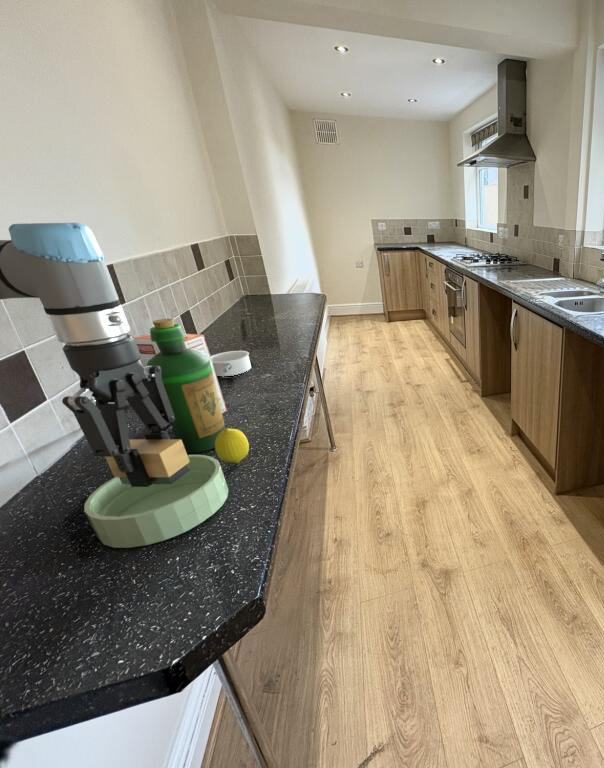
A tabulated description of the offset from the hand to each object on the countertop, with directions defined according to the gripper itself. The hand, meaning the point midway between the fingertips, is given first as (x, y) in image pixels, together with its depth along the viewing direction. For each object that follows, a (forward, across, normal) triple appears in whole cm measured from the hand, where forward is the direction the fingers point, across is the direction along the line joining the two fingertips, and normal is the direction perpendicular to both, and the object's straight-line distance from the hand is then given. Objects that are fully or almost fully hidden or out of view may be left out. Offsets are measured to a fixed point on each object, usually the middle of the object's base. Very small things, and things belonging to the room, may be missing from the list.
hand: (155, 475), depth 67 cm
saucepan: (+7, +62, +31) cm, 70 cm away
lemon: (+8, +15, -2) cm, 17 cm away
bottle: (+8, +22, +10) cm, 25 cm away
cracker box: (+7, +36, +23) cm, 44 cm away
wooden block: (0, 0, 0) cm, 0 cm away
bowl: (+7, 0, 0) cm, 7 cm away
